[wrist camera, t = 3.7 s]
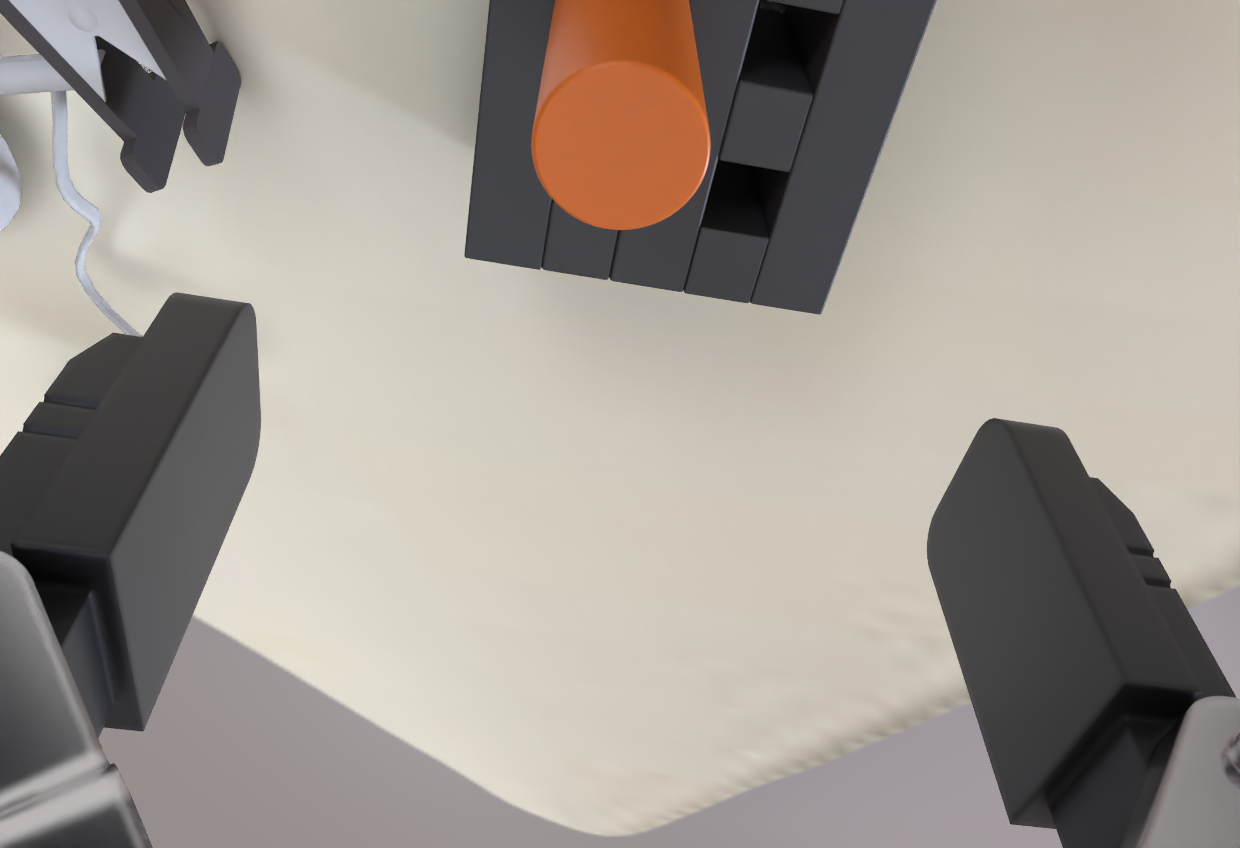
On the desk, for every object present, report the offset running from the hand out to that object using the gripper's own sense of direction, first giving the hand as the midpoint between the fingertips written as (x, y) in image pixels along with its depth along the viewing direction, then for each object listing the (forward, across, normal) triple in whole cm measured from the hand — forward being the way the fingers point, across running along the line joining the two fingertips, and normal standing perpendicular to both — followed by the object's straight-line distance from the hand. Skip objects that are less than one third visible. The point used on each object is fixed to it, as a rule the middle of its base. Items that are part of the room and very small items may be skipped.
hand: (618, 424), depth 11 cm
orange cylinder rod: (+20, 0, 0) cm, 20 cm away
